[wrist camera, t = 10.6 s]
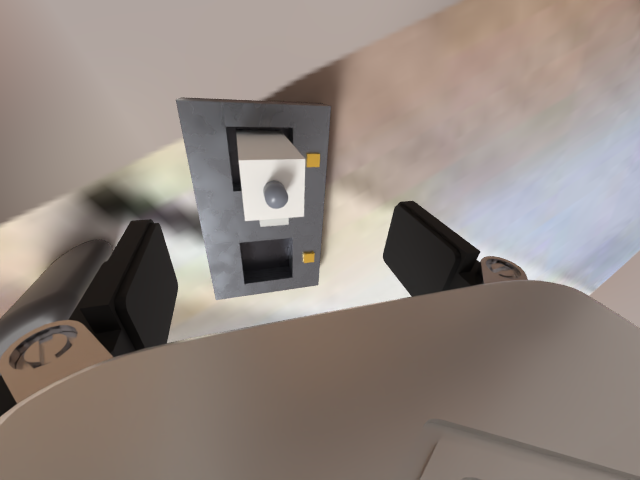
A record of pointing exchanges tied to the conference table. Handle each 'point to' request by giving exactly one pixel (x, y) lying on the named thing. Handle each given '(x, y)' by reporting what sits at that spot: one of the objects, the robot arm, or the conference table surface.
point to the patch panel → (227, 203)
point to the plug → (270, 177)
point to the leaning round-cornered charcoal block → (54, 292)
